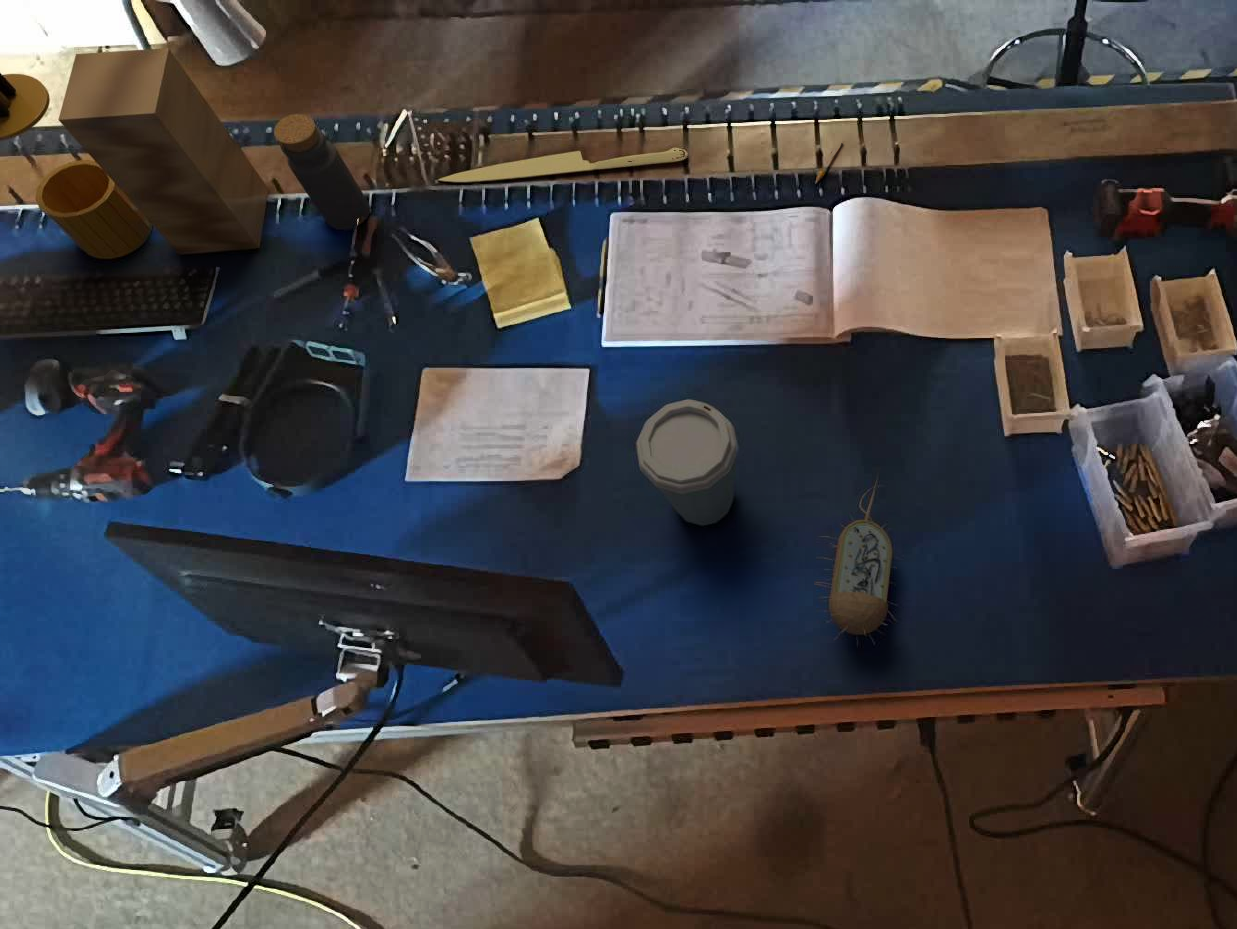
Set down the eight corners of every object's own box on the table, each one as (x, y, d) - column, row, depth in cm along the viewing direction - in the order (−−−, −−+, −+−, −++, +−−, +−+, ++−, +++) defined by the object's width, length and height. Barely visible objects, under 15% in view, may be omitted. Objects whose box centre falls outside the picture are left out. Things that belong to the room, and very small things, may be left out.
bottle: (315, 219, 139) (257, 135, 125) (345, 189, 141) (291, 103, 128) (350, 237, 138) (296, 153, 124) (380, 206, 140) (330, 121, 127)
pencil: (843, 143, 147) (843, 139, 147) (817, 186, 144) (817, 183, 143) (838, 141, 148) (838, 137, 147) (812, 184, 144) (812, 181, 143)
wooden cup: (63, 237, 136) (19, 195, 129) (120, 193, 140) (81, 149, 133) (110, 270, 135) (68, 228, 127) (167, 224, 138) (130, 181, 131)
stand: (178, 254, 136) (57, 119, 115) (190, 194, 140) (75, 53, 119) (259, 248, 137) (154, 113, 116) (268, 188, 141) (168, 47, 120)
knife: (436, 162, 143) (434, 185, 141) (685, 134, 146) (687, 155, 144) (439, 170, 144) (438, 192, 142) (686, 141, 147) (689, 163, 145)
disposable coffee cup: (713, 558, 120) (696, 502, 107) (637, 513, 122) (610, 451, 109) (766, 487, 124) (756, 424, 111) (691, 444, 126) (672, 377, 113)
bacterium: (893, 499, 126) (939, 470, 118) (873, 663, 118) (920, 643, 110) (815, 470, 122) (856, 438, 114) (788, 639, 113) (830, 617, 105)
